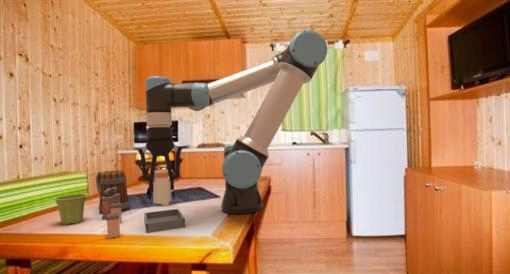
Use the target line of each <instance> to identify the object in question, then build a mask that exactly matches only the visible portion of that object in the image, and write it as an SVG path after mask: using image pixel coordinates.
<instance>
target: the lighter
mask: <svg viewBox="0 0 510 274" xmlns="http://www.w3.org/2000/svg"><path fill="white" fill-rule="evenodd" d="M115 191H118V190H117V187H114V188H108V189H107V190H105V191H104V194H105V196H104V197H101V200H102V213H103V214H102V213H101V214H102V217H101V219H102V221H103V220H104V221H107V220H106V217H107V214H111V209H110V205H111V204H114V203H120V199H119V196H120V193H115Z"/></svg>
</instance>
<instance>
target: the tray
mask: <svg viewBox="0 0 510 274" xmlns="http://www.w3.org/2000/svg"><path fill="white" fill-rule="evenodd" d="M143 215H144V216H143V217H144V226H145V233H146V234H148V233H155V232H162V231H170V230H176V229H183V228H186V220H185V217H184V216H183V213H182V212H181V211H180V209H179V208H173V209H164V210H157V211H155V210H154V211H149V212H147V211H146V212H144V213H143Z"/></svg>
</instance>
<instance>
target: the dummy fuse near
mask: <svg viewBox="0 0 510 274" xmlns="http://www.w3.org/2000/svg"><path fill="white" fill-rule="evenodd" d="M119 217H120V213H114V214H107V217H106V220H105V221H106V227H107V228H106V232H107V239H113V237H115V238H119V237H118V236H120V235H121V225H120V224H121V223H120V221H119ZM120 237H121V236H120Z"/></svg>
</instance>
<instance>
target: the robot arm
mask: <svg viewBox="0 0 510 274" xmlns="http://www.w3.org/2000/svg"><path fill="white" fill-rule="evenodd" d="M327 44H328V43H327V41H326V39H325V38H324V36H322V35H321V33H320V32H317V31H315V30H314V29H313V30H312V29H303V30H301V31H299V32H297V33H296V34H294V35H293V36H292V38H291V40H290V42H289V44H288V46H287V47H286V49H284V50H283V51H282V52H280V53H278V54H275V55H273V56H271V59H270V60H267V61H266V62H265V61H264V62H262V63H260V64H257V65H254V66H252V67H249V68H247V69H244V70H241V71H237V72H235V73H232V74H230V75H227V76H225V77H222V78H220V79H217V80H214V81H211V82H209V83H205V82H187V83H186V82H185V83H183V82H182V83H172V82H171V79H170V78H169V77H168V76H161V75H159V76H158V75H156V76H155V75H154V76H150V77H147V78H146V80H145V107H146V126H147V129H146V134H147V141H146V144H145V145H144V146H142V147H138V149H137V151H138V153H139V155H140V164H141V165H140V166H141V174H142V179H143V181H147V182H148V191H149V192H150V193H152V195H153V197H152V199H153V203H154V204H157V203H156V181H155V175H154V173H155V170H156V166H157V165H156V164H157V159H158V158H159V157H164V161H165V165H166V169H167V170H168V176H169V180H168V196H169V202H172V197H171V196H172V195H171V193H172V191H171V190H173V191H174V189H175V180H176V179H178V178H179V177H180V175H181V174H180V171H181V153H182V150H183V146H179V145H177V144H175V143H174V141H173V128H172V127H171V126H172V125H173V119H172V118H173V117H172V108H188V109H189V110H191V111H194V112H199V111H203V110H204V109H206V108H208V107H210V106H212V105H215V104H218V103H221V102H224V101H226V100H228V99H231V98H234V97H236V96H239V95H242V94H244V93H248V92H249V91H253V90H255V89H258V88H260V87H264V86H267V85H268V84H271V83H272V85H271V86H270V87H269V90H268V91H267V93H266V95H265V97H264V99H263V101H262V102H261V104H260V107H259V108H258V110H257V112H256V113H255V115H254V117H253V119H252V121H251V122H250V124H249V127H248V128H247V130H246V131H245V133H244V135H243V136H240V137H238V138H236V140H235V141H234V143H233V144H232V145H226V146H225V147H224V149H223V150H224V151H223V157H224V159H223V163H222V168H221V171H222V176H223V178H224V183H225V186H224V187H225V189H224V193H223V198H222V201H221V204H220V205H221V212H223V213H225V214H231V215H246V214H253V213H258V212H261V211H263V209H264V200H263V198H262V196H261V193H260V190H259V188H258V187H259V185H258V181H259V180H260V178H261V174H262V170H263V167H264V166H265V164H266V162H267V160H268V159H269V157H270V155H269V152H268V151H269V150H268V148H269V147H270V145H271V144H272V142H273V140H274V137H275V136H276V134H277V133H278V131H279V129H280V127H281V125H282V124H283V121H284V120H285V118H286V116H287V114H288V112H289V110H290V109H291V107H292V106H293V103H294V101H296V98H297V96H298V95H299V92H300V91H301V89H302V87H303V85H304V84H308V83H310V82H311V80H312V79H313V77H314V75H315V73H316V72H317V69H318V68H319V66H320V65H321V64H322V63H324V61H325V60H326V57H327V54H328V45H327ZM147 150H148V152H149V153H150V154H151V156H152V157H151V164H150V168H149V170H150V171H149V175H148V173H147V162H146V156H145V154H146V153H147ZM172 150H173V151H174V154H175V155H174V171H173V172H174V173H173V172H172V170H173V168H172V163H171V159H170V153H171V152H172Z"/></svg>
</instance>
